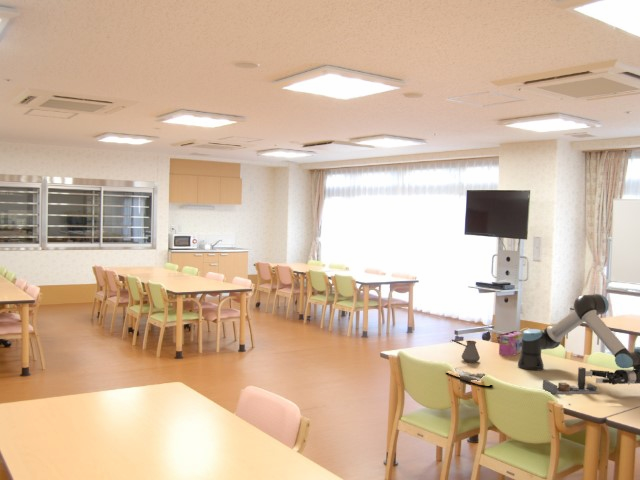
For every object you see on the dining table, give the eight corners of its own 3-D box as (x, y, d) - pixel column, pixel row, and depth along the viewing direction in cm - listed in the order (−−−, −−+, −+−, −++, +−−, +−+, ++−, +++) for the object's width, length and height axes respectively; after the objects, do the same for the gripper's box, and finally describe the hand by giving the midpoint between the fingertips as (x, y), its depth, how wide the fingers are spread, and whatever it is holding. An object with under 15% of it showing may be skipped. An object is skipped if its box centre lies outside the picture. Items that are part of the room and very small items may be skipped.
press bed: (553, 396, 310) (553, 388, 310) (542, 390, 321) (542, 382, 321) (599, 396, 314) (599, 388, 314) (586, 389, 325) (587, 382, 324)
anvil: (553, 394, 310) (553, 385, 310) (542, 388, 321) (542, 380, 321) (556, 394, 310) (557, 385, 310) (546, 388, 321) (546, 380, 321)
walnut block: (562, 392, 314) (562, 384, 314) (558, 390, 318) (558, 382, 318) (569, 392, 315) (569, 384, 315) (565, 389, 319) (565, 382, 319)
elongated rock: (453, 373, 356) (441, 376, 351) (453, 364, 356) (440, 367, 351) (498, 385, 326) (485, 389, 321) (498, 376, 326) (485, 379, 321)
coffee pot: (472, 358, 389) (473, 336, 389) (483, 362, 379) (484, 339, 378) (444, 360, 381) (445, 337, 381) (455, 365, 371) (456, 341, 370)
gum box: (514, 349, 422) (515, 330, 421) (525, 351, 416) (526, 332, 416) (498, 354, 405) (499, 334, 404) (509, 356, 399) (510, 336, 399)
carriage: (573, 391, 315) (574, 369, 314) (568, 389, 320) (569, 367, 319) (588, 391, 316) (590, 369, 316) (583, 388, 321) (584, 366, 320)
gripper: (639, 390, 309) (602, 390, 306) (609, 377, 333) (574, 377, 330) (640, 376, 308) (603, 376, 305) (610, 363, 333) (575, 364, 330)
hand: (588, 377), depth 318 cm, fingers open, 13 cm apart
